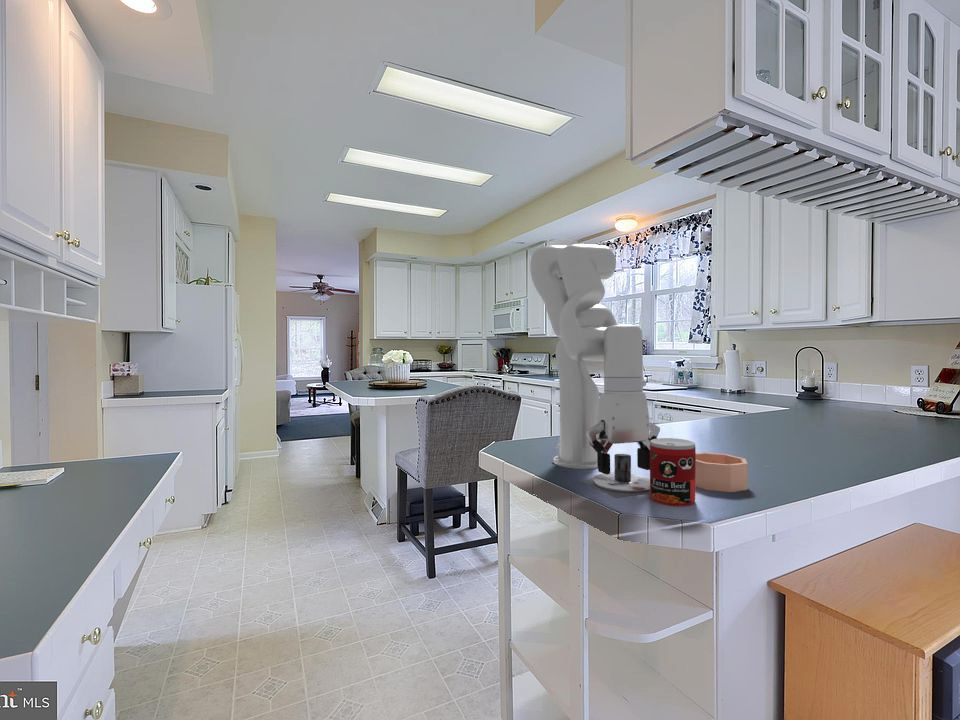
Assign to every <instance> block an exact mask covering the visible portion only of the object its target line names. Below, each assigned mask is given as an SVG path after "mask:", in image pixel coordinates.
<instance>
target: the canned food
mask: <svg viewBox="0 0 960 720" xmlns="http://www.w3.org/2000/svg"><path fill="white" fill-rule="evenodd" d="M696 450H697V449H696V443H695V442H693V441H692V440H688V439H682V438H676V437H675V438H674V437H662V438H661V437H660V438H658V437H657V439H653V440H651V441H650V470H649V479H650V494H649V497H650V499H651V500H652V502H655V503H656V504H660V505H664V506H670V507H688V506H692V505H694V503H695V501H696V486H695V469H696V453H697V452H696Z"/></svg>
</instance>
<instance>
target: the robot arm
mask: <svg viewBox="0 0 960 720" xmlns="http://www.w3.org/2000/svg"><path fill="white" fill-rule="evenodd" d="M529 262H530V263H529V267H530V275H531V276H530V277H531V281H532V283H533V286H534V288H535V290H536V291H537V294H538V295H539V296H540V298H541V299H542V302H543V303H544V306H545V310H546V312H547V313H546V314H547V316H548V319H549V322H550V324H551V328H552V330H553V332H554V335H555V336H556V337H557V338H558V339H560V340H559V341H558V342H557V345H556V348H555V360H556V365H557V366H556V367H557V371H558V382H559V442H558V443H557V444H555V445H556V446H555V448H556V449H557V450H558V451H559V452H558V453H559V454H558V455H556V456H554V457H553V458H552V459H553V464H555V465H556V466H559V467H563V468H568V469H575V470H576V469H579V470H590V469H592V470H593V469H594V470H595V469H597V471H598V472H599V473H600V474H603V473H604V474H610V473H611V455H610V453H608V452H609V450H610V449H611V448H612V446H613V445H614V444H615V445H616V444H617V445H618V444H631V443H636V444H637V445H638V448H637V450H636V453H637V454H636V456H637V457H636V460H637V461H636V462H637V468H639V469H643V470H646V471H650V441H651V440H653V439H658V436H659V434H660V432H661V431H660V430H661V427H660V426H658V425H656V424H654V423H652V422H651V421H650V415H649V413H650V412H649V407H648V406H649V405H648V401H647V395H646V393H645V392H644V387H646V385H647V381H646V380H645V379H644V374H643V373H644V372H643V371H644V368H643V365H644V364H643V362H644V361H643V357H644V356H643V352H644V351H643V349H644V348H643V331H642V328H641V327H640V326H638V325H636V324H635V325H634V324H618V323H617V320H616V318H615V316H614V314H613V312H612V311H611V309H609V308H608V307H607V306H606V305H602V304H600V302H602V300H603V299H604V297H605V293H606V290H605V286H604V283H603V281H602V280H608V279H610V278H611V277H612V276H613V275H614V273H615V271H616V268H617V258H616V255H615V252H614V251H613V250H612V249H611V248H610V247H609V246H607V245H602V244H601V245H599V244H584V243H575V244H569V245H560V244H559V245H557V244H555V245H554V244H553V245H552V244H551V245H549V244H548V245H544V246H540V247H537V248H536V249H535V250H534V251H533V252H532V255H531V257H530V261H529ZM596 374H597V375H598V374H600V375H601V374H602V375H603V390H604V391H603V392H601V393H600V391H599V388H598V386H597V385H596V383H595V381H594V380H593V378H592V376H591V375H596Z"/></svg>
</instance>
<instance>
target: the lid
mask: <svg viewBox="0 0 960 720" xmlns="http://www.w3.org/2000/svg"><path fill="white" fill-rule="evenodd" d="M613 457H614V462H613V463H614V472H610V474H604V473H599V474H596V475H594V476H593V477H592V478H593V484H594V485H595V486H596V487H598V488H600V489H603V490H607V491H612V492H618V493H643V492H648V491H650V477H647V476H643V475H640V474H635V473H632V455H631V454H627V453H615V454H614V455H613Z"/></svg>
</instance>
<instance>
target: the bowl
mask: <svg viewBox="0 0 960 720" xmlns="http://www.w3.org/2000/svg"><path fill="white" fill-rule="evenodd" d="M748 470H749V469H748V462H747V460H746V458H744V457H739V456H737V455H736V456H734V455H731V454H726V453H715V452H714V453H713V452H698V453H697V452H696V469H695V488H699V489H702V490H705V491H716V492H725V493H737V492H742V491H743V492H744V491H748V484H749V483H748V482H749V481H748V479H749V477H748V476H749V475H748V474H749V473H748Z"/></svg>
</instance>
